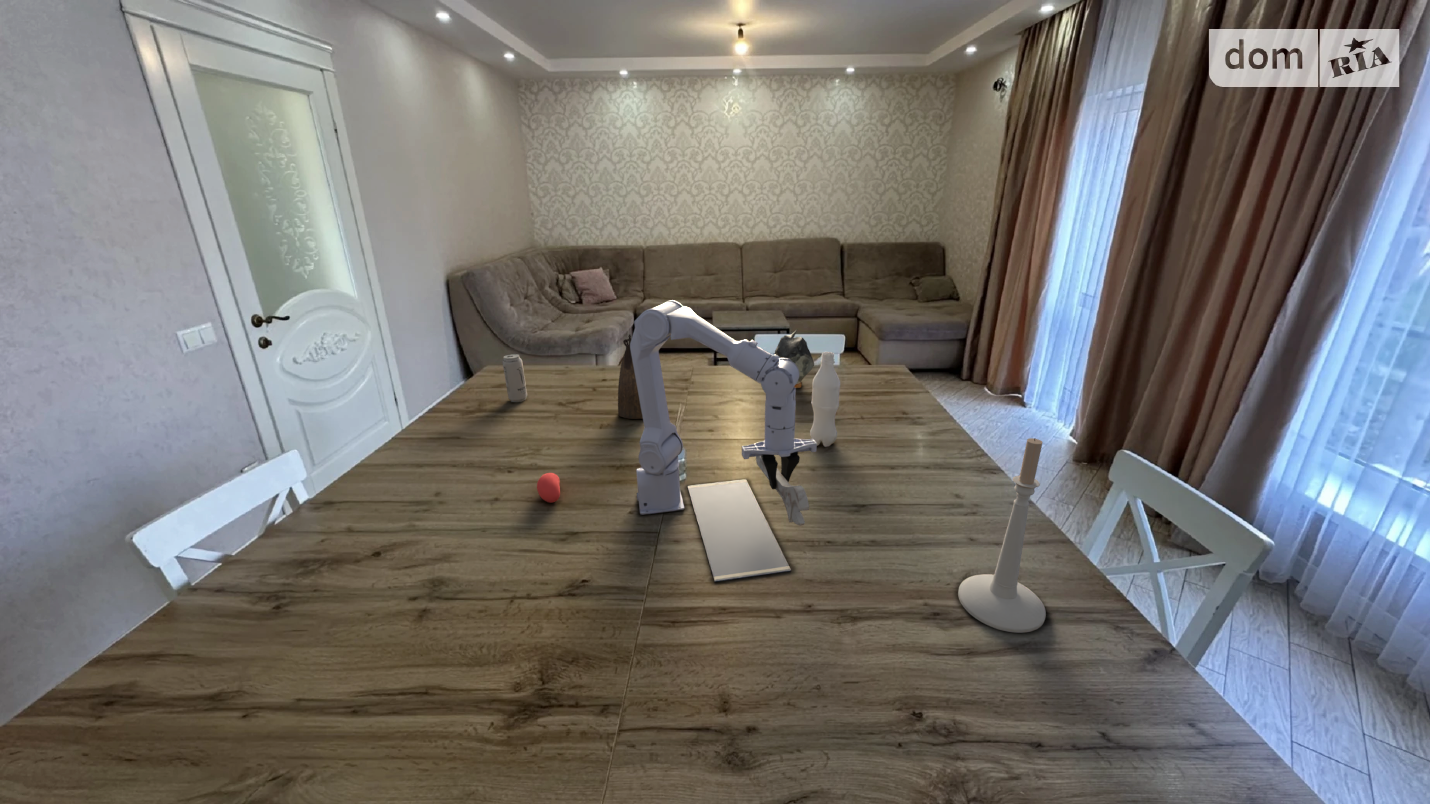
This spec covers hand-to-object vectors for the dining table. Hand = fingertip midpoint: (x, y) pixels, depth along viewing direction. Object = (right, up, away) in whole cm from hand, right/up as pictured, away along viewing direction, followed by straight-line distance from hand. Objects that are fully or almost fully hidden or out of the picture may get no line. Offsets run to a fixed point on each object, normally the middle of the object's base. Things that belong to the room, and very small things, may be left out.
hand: (778, 486), depth 109 cm
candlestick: (+34, -17, -19) cm, 43 cm away
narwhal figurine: (+15, +23, +83) cm, 87 cm away
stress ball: (-50, -5, +16) cm, 53 cm away
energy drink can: (-78, +17, +74) cm, 109 cm away
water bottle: (+16, +6, +39) cm, 43 cm away
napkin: (-9, -8, +4) cm, 13 cm away
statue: (-37, +12, +59) cm, 71 cm away
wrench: (0, -2, +1) cm, 2 cm away
